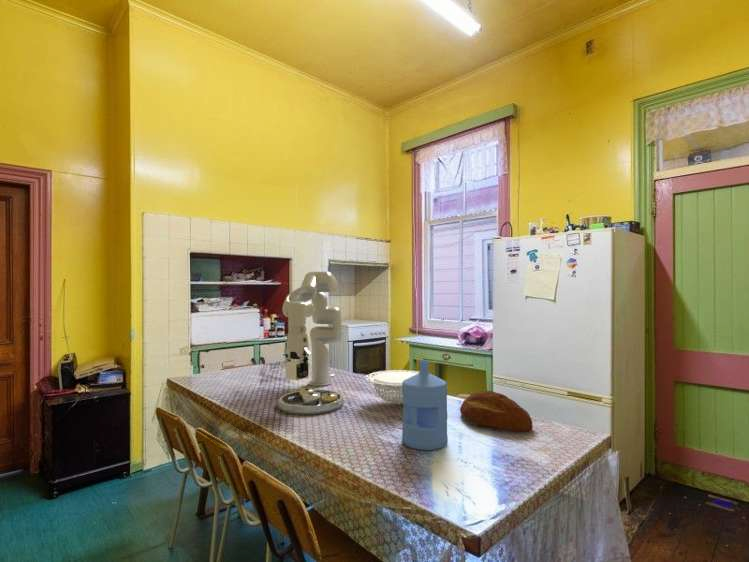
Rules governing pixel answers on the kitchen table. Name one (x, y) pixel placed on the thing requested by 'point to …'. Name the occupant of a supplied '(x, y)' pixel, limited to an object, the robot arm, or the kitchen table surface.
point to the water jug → (424, 410)
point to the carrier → (310, 402)
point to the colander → (390, 383)
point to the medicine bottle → (295, 368)
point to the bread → (495, 412)
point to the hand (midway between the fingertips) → (297, 370)
